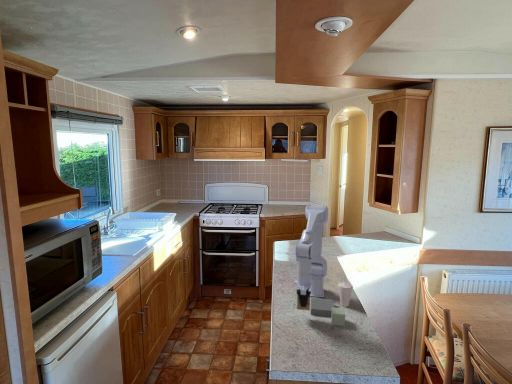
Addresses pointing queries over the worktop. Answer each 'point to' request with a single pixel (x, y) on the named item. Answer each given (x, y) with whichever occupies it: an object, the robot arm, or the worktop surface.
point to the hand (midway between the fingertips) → (303, 303)
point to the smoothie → (345, 292)
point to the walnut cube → (303, 307)
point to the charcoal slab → (321, 306)
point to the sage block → (338, 316)
